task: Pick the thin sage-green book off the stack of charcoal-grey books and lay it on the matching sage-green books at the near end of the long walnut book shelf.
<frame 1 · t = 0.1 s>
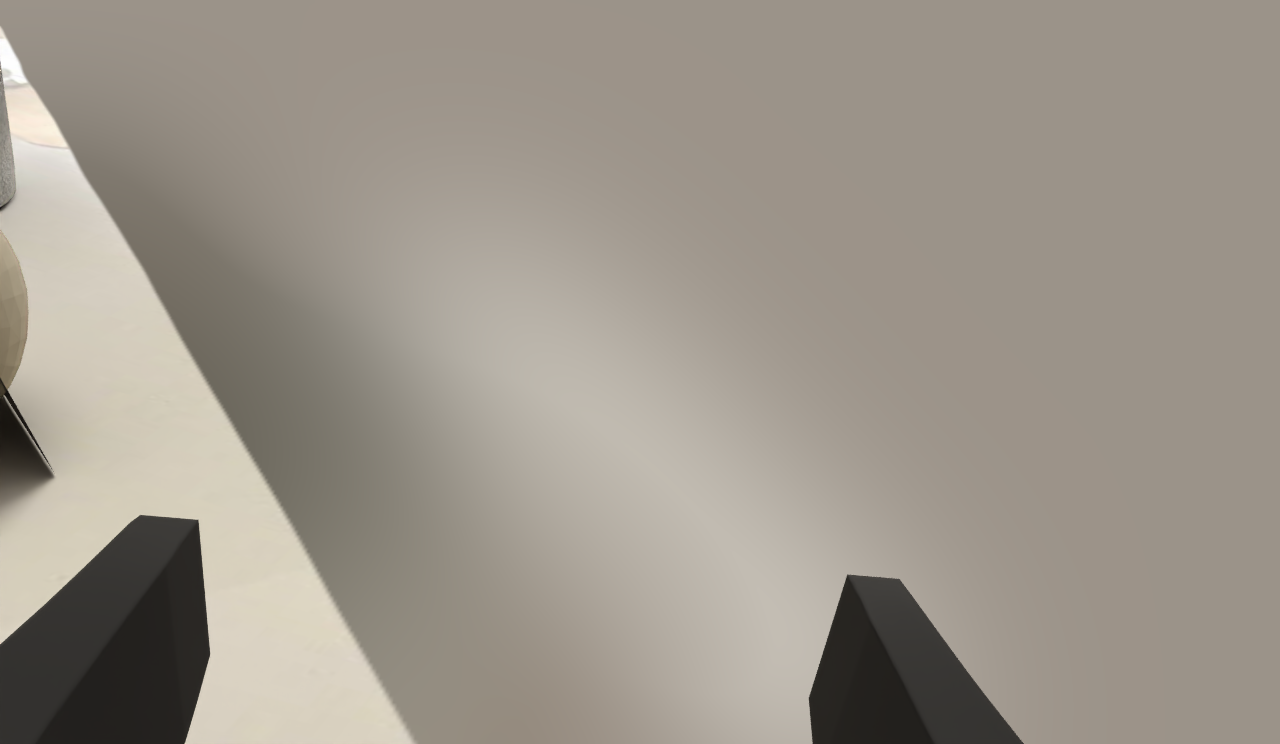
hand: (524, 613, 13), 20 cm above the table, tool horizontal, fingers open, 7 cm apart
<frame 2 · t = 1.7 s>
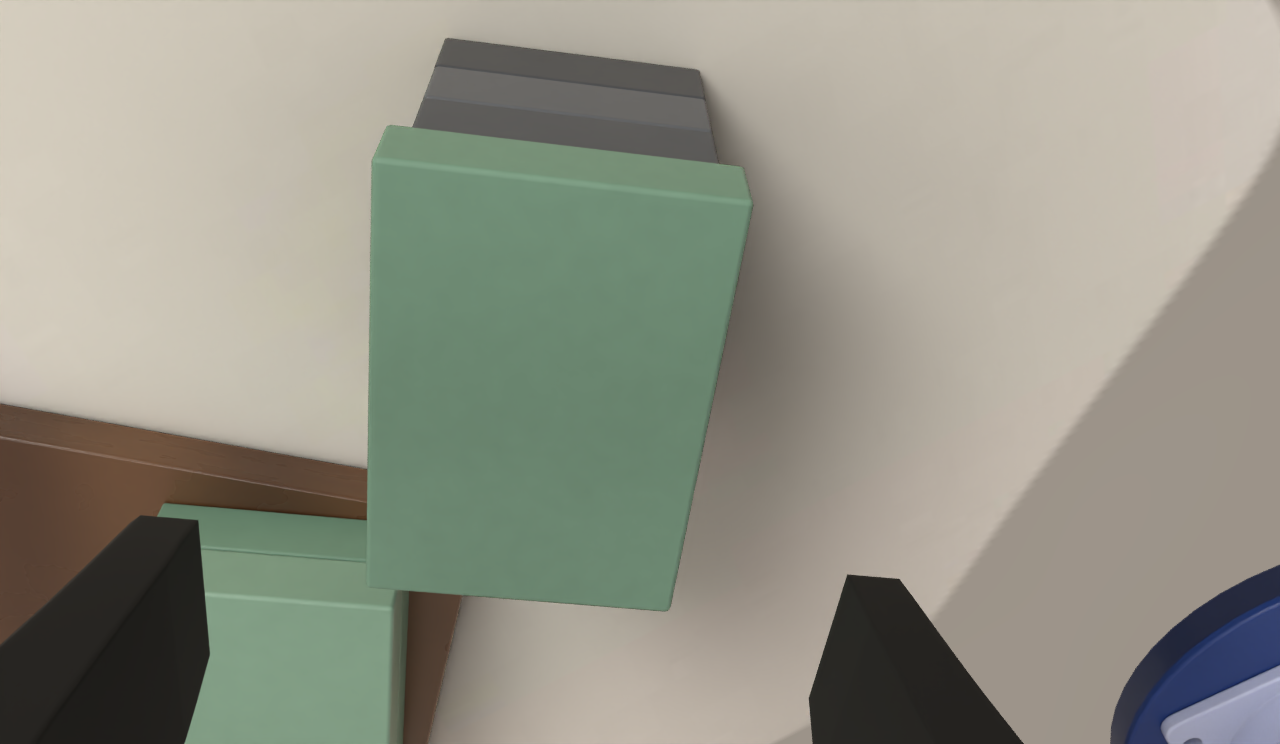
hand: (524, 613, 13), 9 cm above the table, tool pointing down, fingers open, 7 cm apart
grey books: (553, 244, 21), on the table, touching sage book
sage book: (543, 369, 17), point 4 cm above the table, touching grey books
sage books: (293, 642, 25), point 1 cm above the table, touching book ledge
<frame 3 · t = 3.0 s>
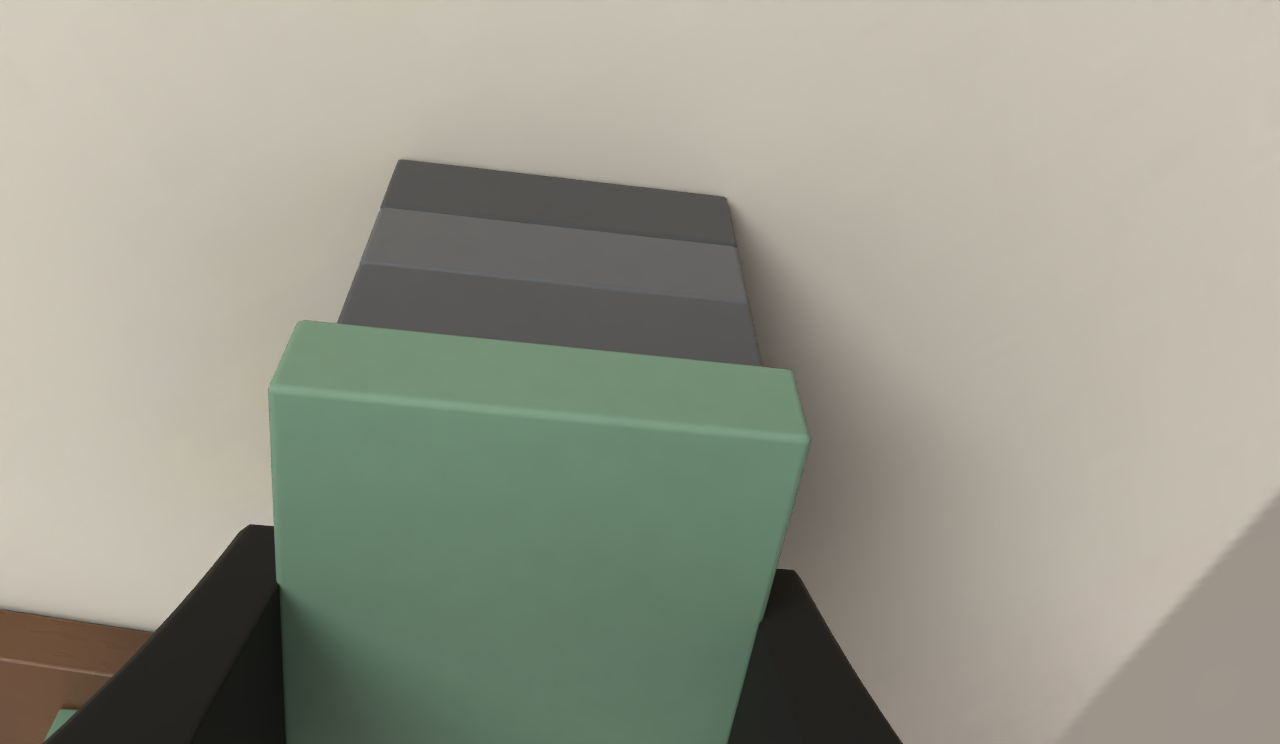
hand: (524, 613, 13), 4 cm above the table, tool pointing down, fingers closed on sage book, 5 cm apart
grey books: (540, 403, 17), on the table, touching sage book
sage book: (520, 612, 13), point 4 cm above the table, touching grey books, gripper
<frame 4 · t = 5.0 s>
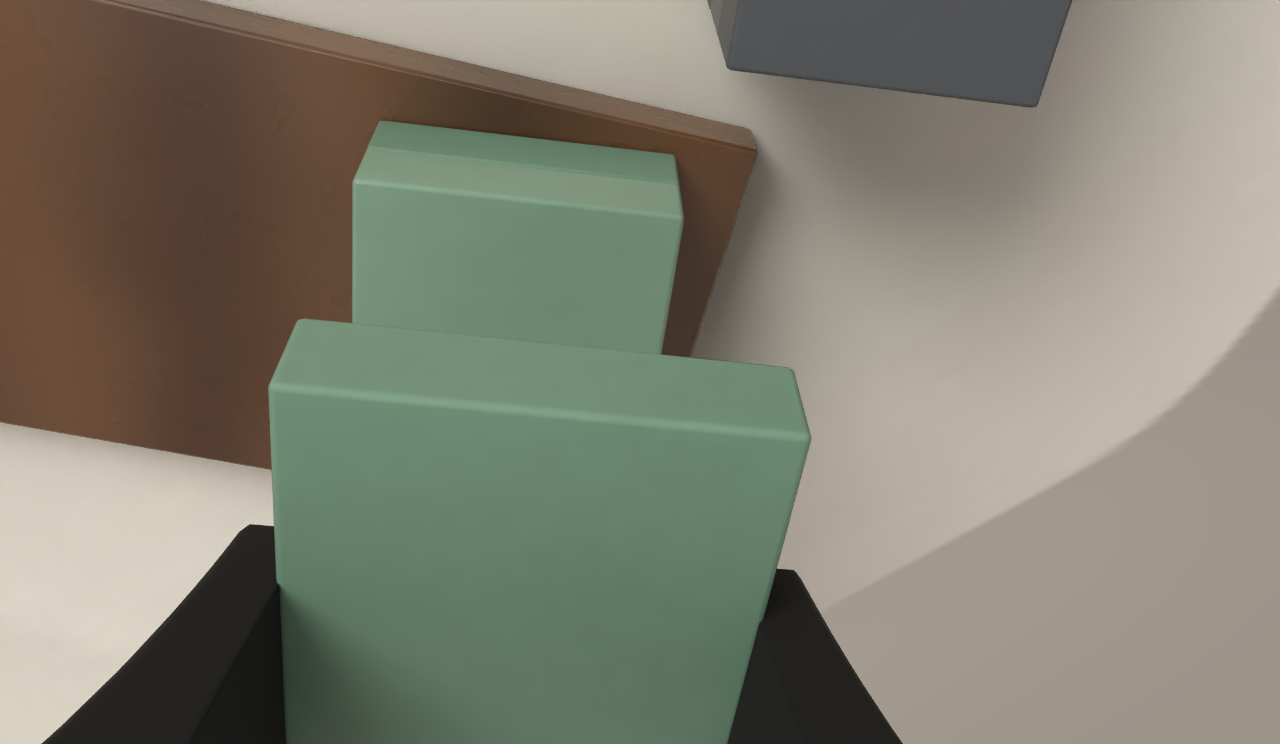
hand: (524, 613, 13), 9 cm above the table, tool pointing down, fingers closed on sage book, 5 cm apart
sage book: (520, 611, 13), point 9 cm above the table, touching gripper
sage books: (512, 327, 21), point 1 cm above the table, touching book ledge
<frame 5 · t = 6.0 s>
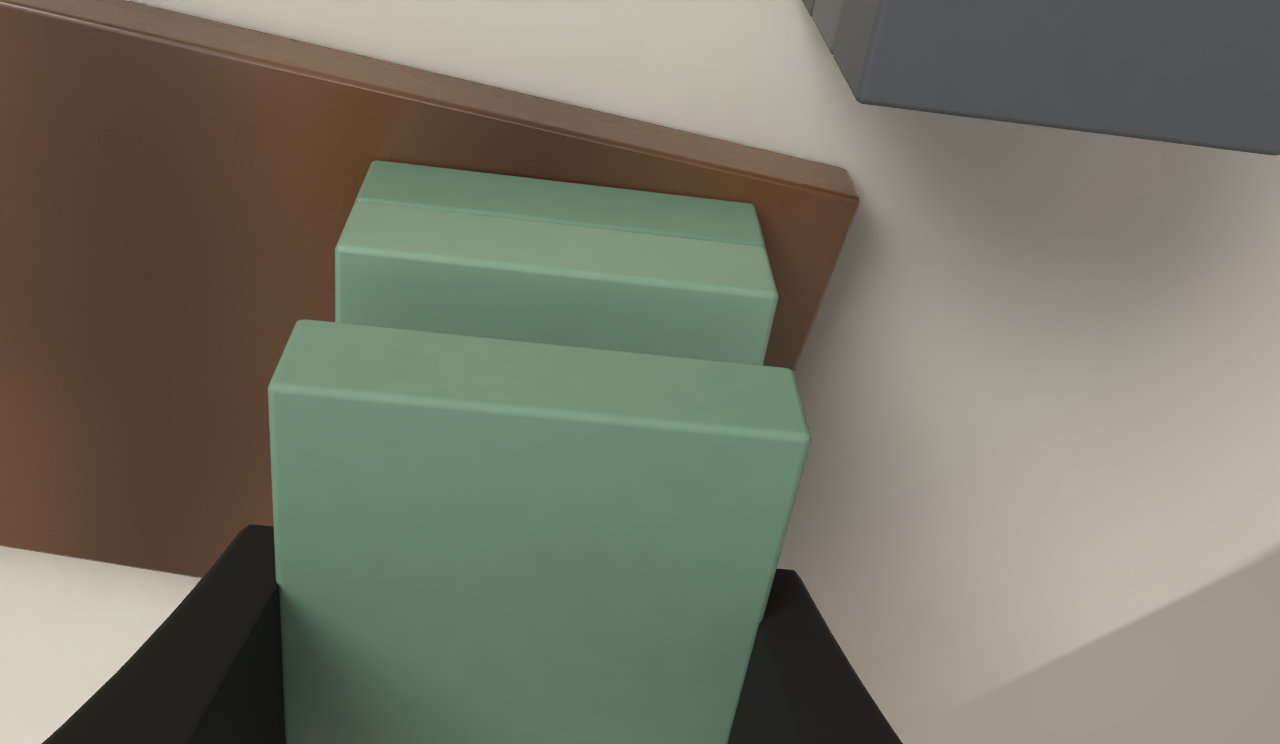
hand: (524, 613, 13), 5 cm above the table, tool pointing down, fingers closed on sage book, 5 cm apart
sage book: (520, 612, 13), point 5 cm above the table, touching gripper
sage books: (540, 415, 16), point 1 cm above the table, touching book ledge
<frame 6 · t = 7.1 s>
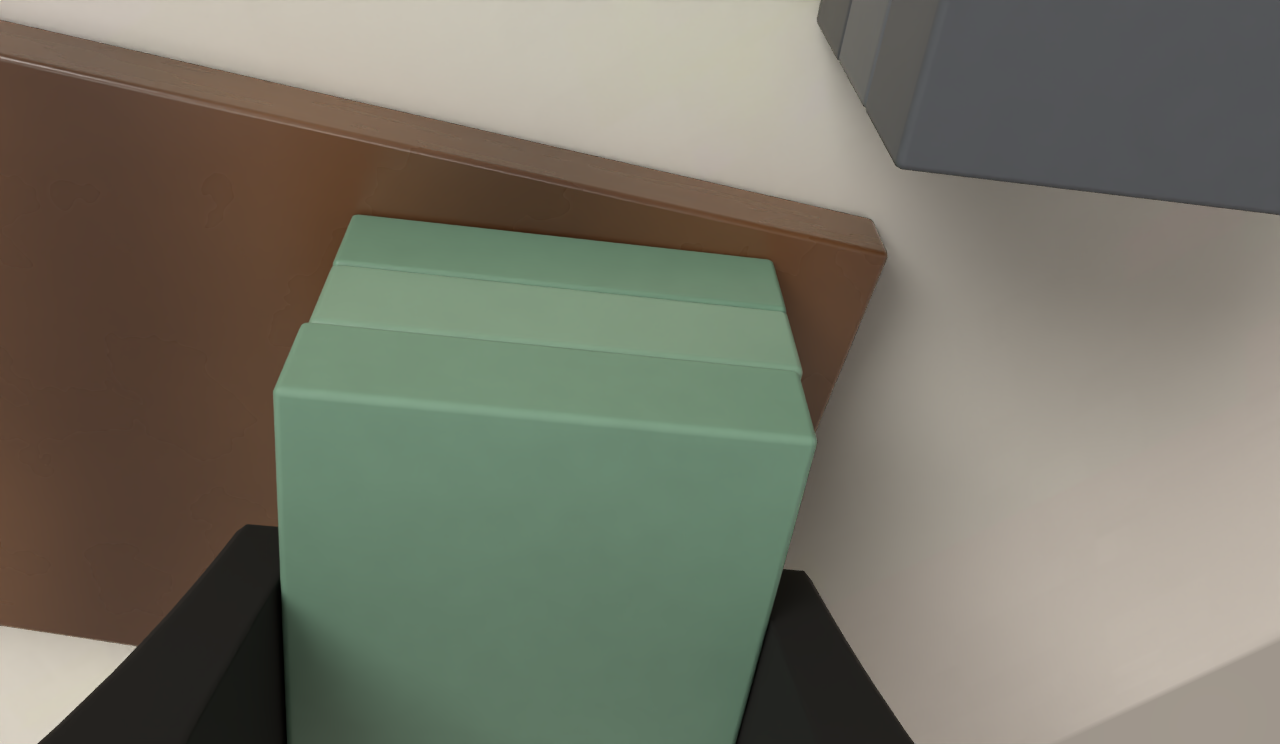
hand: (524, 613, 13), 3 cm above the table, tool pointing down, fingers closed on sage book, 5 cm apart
sage book: (524, 615, 13), point 3 cm above the table, touching gripper, sage books
sage books: (538, 483, 15), point 1 cm above the table, touching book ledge, gripper, sage book
when the fingers open (3 cm above the table, at t = 7.1 s): sage book stays where it is, resting on sage books.
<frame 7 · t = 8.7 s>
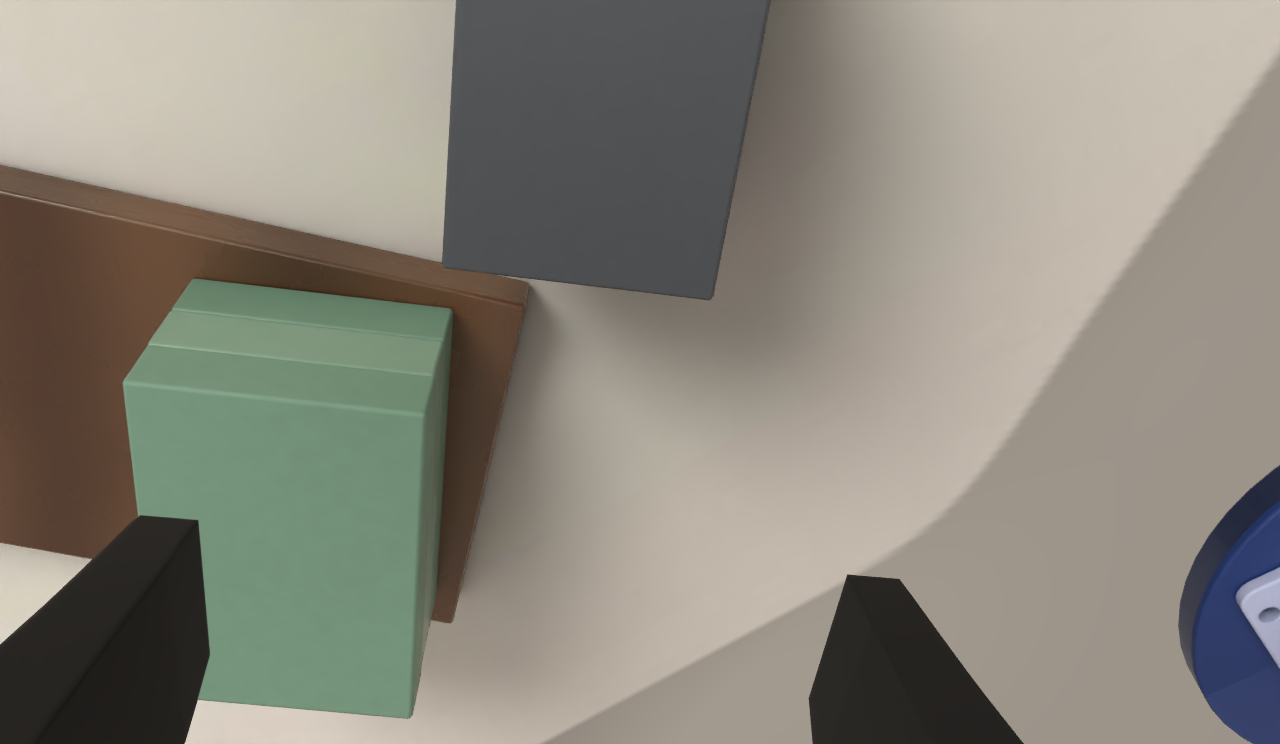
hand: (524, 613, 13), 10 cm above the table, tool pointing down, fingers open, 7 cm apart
sage book: (297, 524, 21), point 3 cm above the table, touching sage books
sage books: (325, 448, 23), point 1 cm above the table, touching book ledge, sage book
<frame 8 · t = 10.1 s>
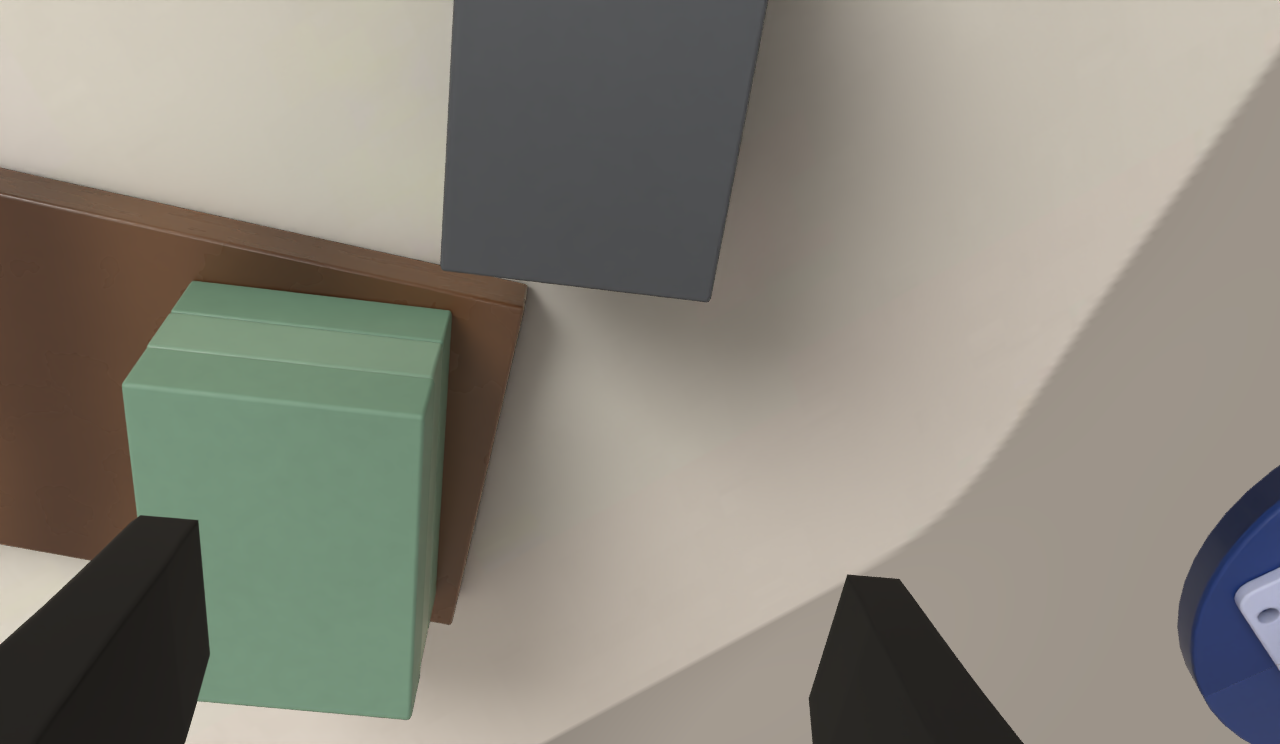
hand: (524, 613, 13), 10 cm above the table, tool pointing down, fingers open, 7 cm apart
sage book: (296, 526, 21), point 3 cm above the table, touching sage books
sage books: (324, 450, 23), point 1 cm above the table, touching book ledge, sage book
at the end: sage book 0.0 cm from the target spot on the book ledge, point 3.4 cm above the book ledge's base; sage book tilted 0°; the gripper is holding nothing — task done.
